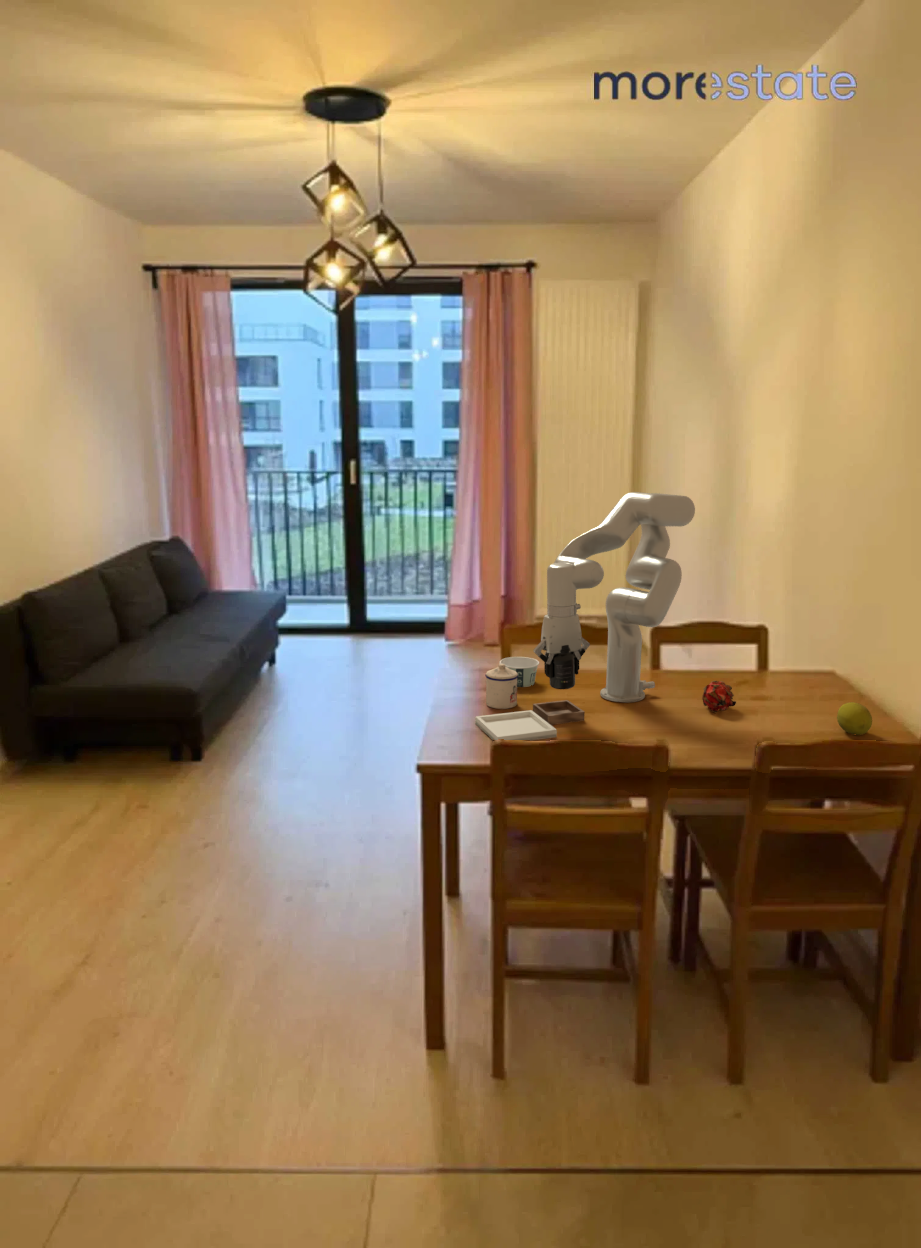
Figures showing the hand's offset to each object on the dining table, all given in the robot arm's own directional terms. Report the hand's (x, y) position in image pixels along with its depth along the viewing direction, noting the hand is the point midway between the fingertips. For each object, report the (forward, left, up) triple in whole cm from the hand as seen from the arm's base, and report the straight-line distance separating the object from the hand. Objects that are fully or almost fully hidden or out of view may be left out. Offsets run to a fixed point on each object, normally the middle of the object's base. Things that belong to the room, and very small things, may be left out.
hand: (561, 674), depth 244 cm
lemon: (-65, +36, -12) cm, 75 cm away
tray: (+16, +6, -12) cm, 21 cm away
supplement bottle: (0, 0, -3) cm, 3 cm away
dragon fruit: (-43, +9, -12) cm, 46 cm away
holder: (+1, 0, -12) cm, 12 cm away
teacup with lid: (+11, -16, -12) cm, 22 cm away
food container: (-1, -32, -12) cm, 34 cm away
